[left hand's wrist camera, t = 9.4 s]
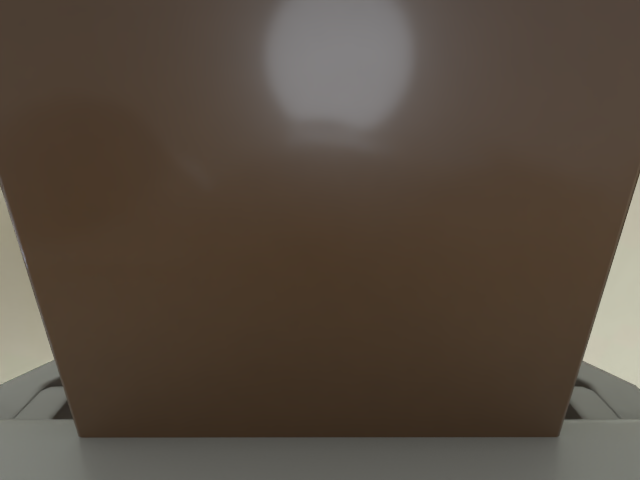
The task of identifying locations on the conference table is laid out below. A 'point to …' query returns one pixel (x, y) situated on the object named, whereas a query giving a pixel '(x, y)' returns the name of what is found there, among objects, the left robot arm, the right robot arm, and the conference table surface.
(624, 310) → the conference table surface
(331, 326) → the bar
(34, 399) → the left robot arm
